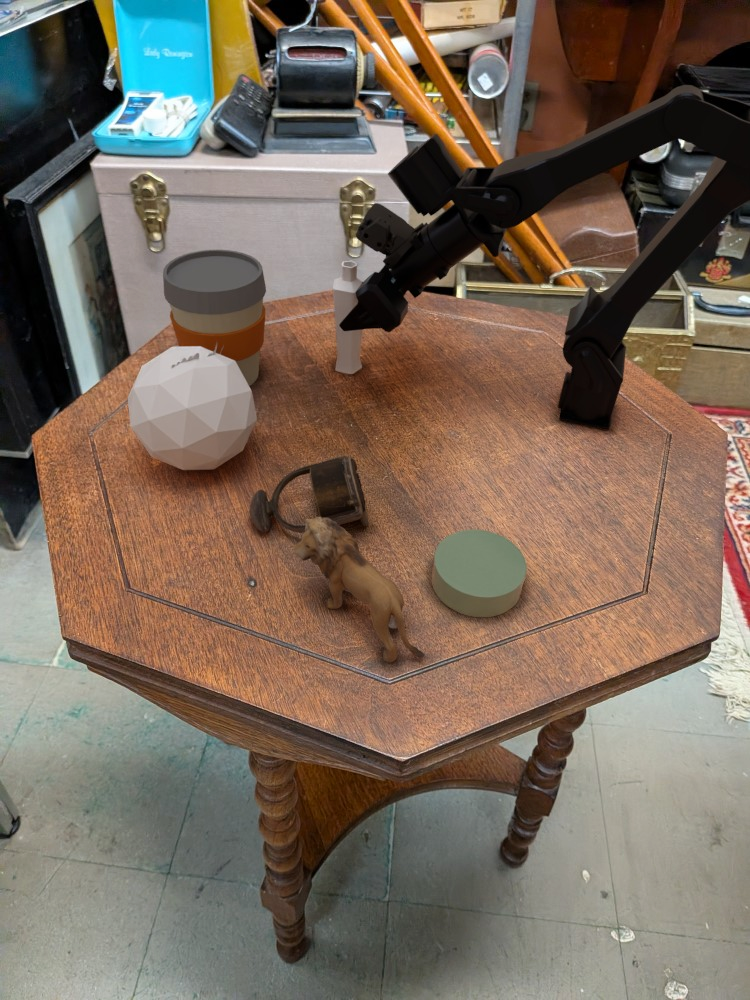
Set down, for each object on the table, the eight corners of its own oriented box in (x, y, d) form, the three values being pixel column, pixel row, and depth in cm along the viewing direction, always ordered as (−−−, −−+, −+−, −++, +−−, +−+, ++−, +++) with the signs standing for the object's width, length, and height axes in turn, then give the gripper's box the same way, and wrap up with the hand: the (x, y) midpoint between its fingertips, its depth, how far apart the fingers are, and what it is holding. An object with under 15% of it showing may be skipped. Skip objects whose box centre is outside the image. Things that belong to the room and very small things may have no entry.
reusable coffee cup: (163, 367, 100) (143, 262, 90) (243, 342, 105) (234, 241, 95) (204, 411, 92) (188, 302, 82) (289, 381, 98) (283, 276, 88)
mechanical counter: (363, 524, 70) (385, 447, 76) (236, 494, 71) (268, 419, 77) (358, 561, 76) (379, 487, 82) (241, 533, 77) (270, 461, 82)
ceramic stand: (527, 561, 75) (532, 541, 73) (513, 627, 68) (519, 607, 66) (442, 541, 76) (445, 520, 74) (421, 603, 70) (424, 583, 68)
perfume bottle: (368, 361, 103) (372, 259, 93) (358, 377, 100) (360, 273, 90) (338, 355, 104) (339, 253, 94) (327, 370, 101) (326, 267, 91)
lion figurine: (288, 593, 70) (283, 526, 64) (325, 563, 73) (324, 497, 67) (406, 678, 64) (413, 613, 58) (441, 641, 67) (452, 576, 61)
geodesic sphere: (204, 354, 91) (140, 297, 78) (299, 386, 86) (249, 332, 73) (152, 461, 89) (77, 421, 76) (247, 500, 85) (185, 466, 71)
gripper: (420, 163, 90) (336, 236, 100) (376, 216, 77) (284, 294, 86) (473, 236, 94) (387, 299, 104) (440, 297, 81) (345, 364, 90)
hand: (352, 311), depth 96 cm, fingers open, 9 cm apart
